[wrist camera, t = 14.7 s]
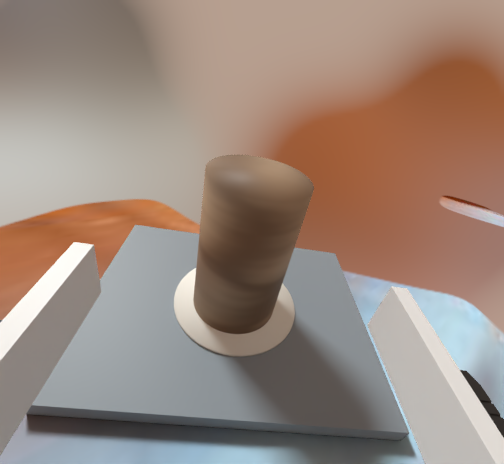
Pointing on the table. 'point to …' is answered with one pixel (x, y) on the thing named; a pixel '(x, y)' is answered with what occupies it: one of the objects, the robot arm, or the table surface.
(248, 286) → the brown cylinder
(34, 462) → the table surface
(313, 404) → the seat board
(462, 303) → the table surface
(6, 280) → the table surface
